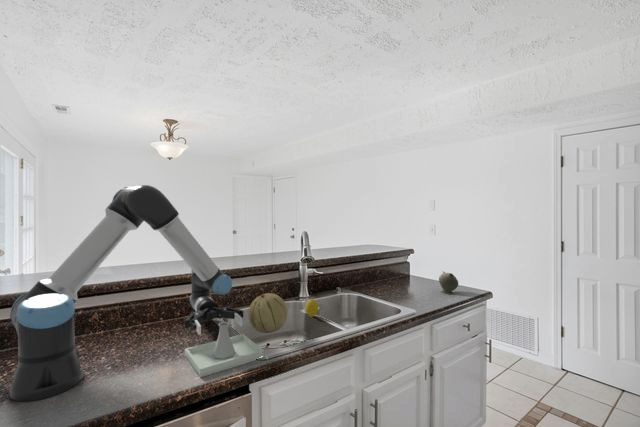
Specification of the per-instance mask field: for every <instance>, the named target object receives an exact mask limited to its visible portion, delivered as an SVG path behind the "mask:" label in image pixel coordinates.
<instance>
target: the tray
mask: <svg viewBox="0 0 640 427" xmlns="http://www.w3.org/2000/svg"><path fill="white" fill-rule="evenodd" d="M230 339H231V342H232V344H233V347H234V349H235V354H234V355H233V357H229V358H225V359H215V358H214V357H213V356H212V353H213V351H214V348H215V345H216V342H217V340H213V341H209V342H207V343H203V344H198V345H194V346H189V347H186V348H184V357H185V359H186V360H187V361H188V363H189V364H190V366H191V367H192V369H194V370H193V371H194V372H195V373H196V374H197V376H198V377H199V378H200V377H201V378H203V377H207V376H210V375H213V373H214V374H216V372H217V373H219V372H223V371H225V370H229V369H232V368H235V367H238V366H242V365H245V364H248V363H251V362H254V361H257V360H256V359H257V358H259V357H261V356H264V355H265V353H264V351H265V349H263V348H261V347H260V346H259V345H258V344H256V343H255V342H254V341H253V340H251V339H250V338H249V337H247V335H245V334H244V333H242V334H237V335H233V336H230ZM264 357H265V356H264Z"/></svg>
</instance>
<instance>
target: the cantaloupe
mask: <svg viewBox="0 0 640 427" xmlns="http://www.w3.org/2000/svg"><path fill="white" fill-rule="evenodd" d="M288 313H289V312H288V306H287V304H286V302H285V301H284V300H283V298H282V297H281V296H279V295H278V294H275V293H272V292H269V293H262V294H260V295H259V296H257V297H256V298H254V300H253V301H252V302H251V303H250V306H249V309H248V317H249V321H250V324H251V326H252V327H253V329H254V330H256V331H257V332H259V333H263V334H270V333H271V334H272V333H274V332H277V331H279V330H280V329H282V327H284V325H285V323H286V321H287V319H288Z"/></svg>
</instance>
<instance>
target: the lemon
mask: <svg viewBox="0 0 640 427" xmlns="http://www.w3.org/2000/svg"><path fill="white" fill-rule="evenodd" d="M304 306H305V308H304V311H305V312H306V314H307V316H309V317H310V318H313V317H314V316H315V315H317V314H318V311H319V305H318V302H317V301H316V300H315V299H313V298H310V299H308V300H307V301H306V303H305V305H304Z"/></svg>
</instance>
